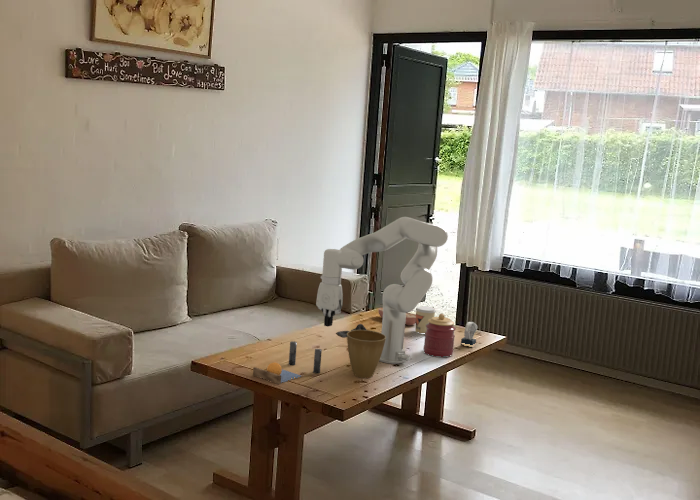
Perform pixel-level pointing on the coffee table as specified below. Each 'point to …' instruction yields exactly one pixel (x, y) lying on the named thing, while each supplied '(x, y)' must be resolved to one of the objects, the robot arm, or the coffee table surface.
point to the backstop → (267, 375)
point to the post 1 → (292, 353)
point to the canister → (439, 336)
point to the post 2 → (317, 361)
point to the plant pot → (365, 351)
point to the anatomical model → (409, 317)
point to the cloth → (344, 333)
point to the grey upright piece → (469, 333)
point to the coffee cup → (423, 317)
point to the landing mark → (288, 375)
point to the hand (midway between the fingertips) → (328, 325)
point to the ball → (274, 368)
